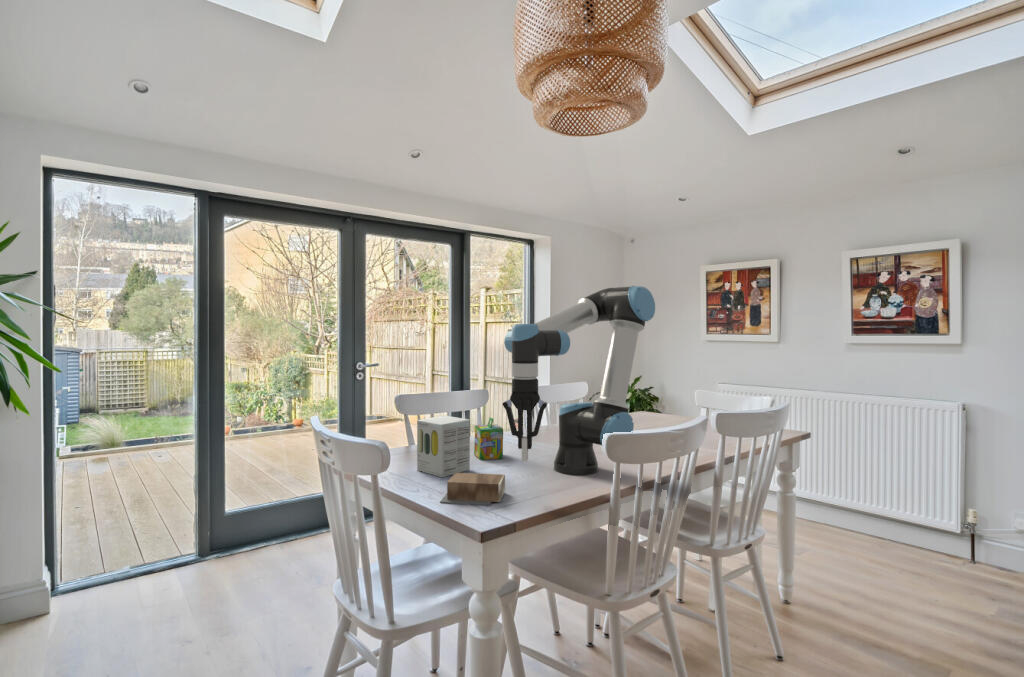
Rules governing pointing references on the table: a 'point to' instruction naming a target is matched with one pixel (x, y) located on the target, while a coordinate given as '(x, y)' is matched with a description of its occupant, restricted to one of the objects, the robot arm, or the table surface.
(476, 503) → the mat
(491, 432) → the chalk box
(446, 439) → the supplement box
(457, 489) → the walnut block
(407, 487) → the table surface
